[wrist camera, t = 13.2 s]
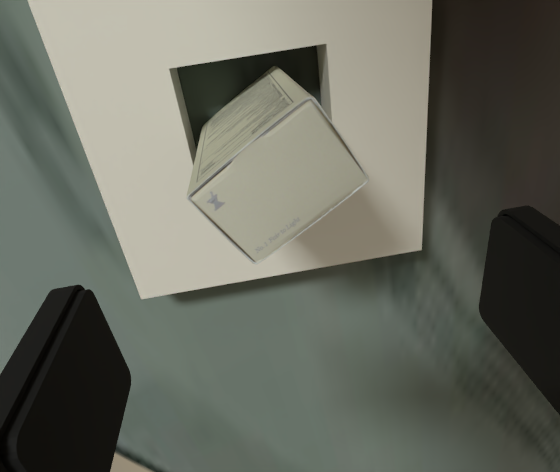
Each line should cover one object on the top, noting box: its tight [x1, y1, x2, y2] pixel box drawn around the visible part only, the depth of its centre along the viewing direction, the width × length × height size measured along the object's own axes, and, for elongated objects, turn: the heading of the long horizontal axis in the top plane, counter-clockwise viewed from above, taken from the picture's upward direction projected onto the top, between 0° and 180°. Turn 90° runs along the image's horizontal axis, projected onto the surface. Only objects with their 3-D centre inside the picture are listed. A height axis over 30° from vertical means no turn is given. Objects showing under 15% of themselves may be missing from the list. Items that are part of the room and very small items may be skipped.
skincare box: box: [186, 66, 369, 264], centre depth 21 cm, size 6×4×12 cm
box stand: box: [28, 0, 432, 299], centre depth 25 cm, size 20×20×3 cm
